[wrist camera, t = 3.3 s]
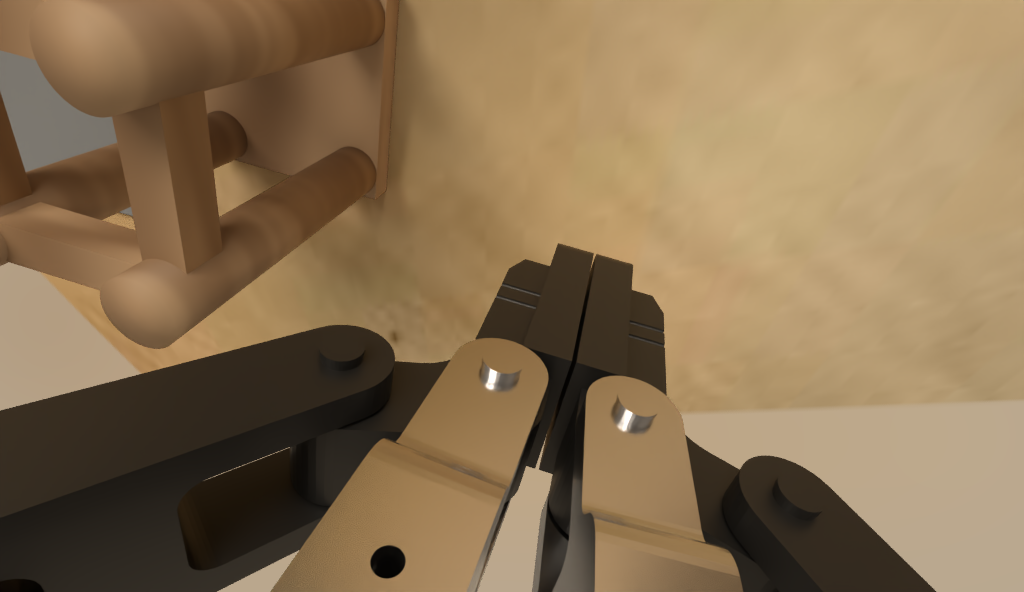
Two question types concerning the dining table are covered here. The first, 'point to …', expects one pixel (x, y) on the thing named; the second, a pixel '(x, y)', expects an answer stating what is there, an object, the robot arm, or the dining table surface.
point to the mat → (47, 117)
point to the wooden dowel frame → (194, 143)
